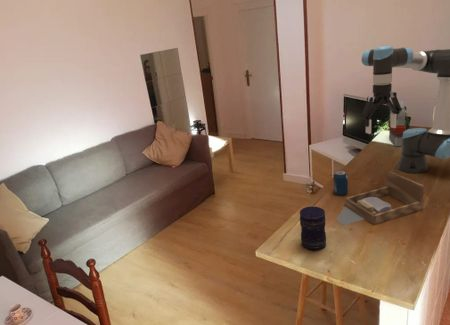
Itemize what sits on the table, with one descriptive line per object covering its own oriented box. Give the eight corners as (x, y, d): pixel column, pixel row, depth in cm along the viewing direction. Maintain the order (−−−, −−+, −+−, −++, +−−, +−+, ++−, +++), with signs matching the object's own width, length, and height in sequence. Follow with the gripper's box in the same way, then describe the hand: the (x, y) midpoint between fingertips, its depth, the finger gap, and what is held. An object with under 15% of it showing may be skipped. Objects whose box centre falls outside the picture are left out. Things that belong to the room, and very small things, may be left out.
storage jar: (303, 236, 146) (302, 205, 141) (327, 239, 142) (326, 207, 137) (299, 250, 137) (297, 217, 132) (324, 253, 134) (323, 219, 128)
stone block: (375, 204, 167) (358, 206, 163) (377, 195, 165) (360, 197, 162) (393, 215, 156) (376, 217, 153) (396, 205, 154) (378, 207, 151)
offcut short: (362, 204, 160) (362, 199, 159) (373, 211, 153) (373, 206, 152) (357, 205, 160) (357, 200, 159) (367, 213, 152) (367, 208, 151)
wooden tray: (388, 192, 173) (389, 170, 169) (421, 209, 154) (423, 185, 150) (344, 205, 166) (344, 183, 162) (373, 224, 148) (374, 199, 144)
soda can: (350, 192, 178) (350, 171, 174) (343, 197, 174) (343, 176, 170) (337, 189, 183) (337, 168, 179) (331, 194, 179) (330, 173, 175)
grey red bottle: (404, 147, 229) (407, 102, 219) (394, 147, 231) (396, 103, 221) (397, 138, 247) (399, 97, 237) (387, 139, 249) (389, 98, 239)
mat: (342, 205, 167) (342, 204, 167) (364, 219, 152) (364, 219, 152) (323, 210, 164) (323, 210, 164) (343, 225, 150) (343, 225, 150)
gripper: (399, 78, 156) (397, 123, 163) (352, 87, 150) (352, 133, 157) (412, 79, 149) (409, 126, 157) (363, 89, 143) (363, 137, 151)
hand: (380, 130), depth 157 cm, fingers open, 13 cm apart
